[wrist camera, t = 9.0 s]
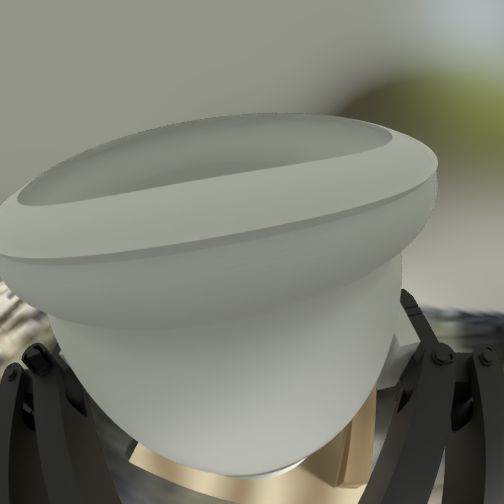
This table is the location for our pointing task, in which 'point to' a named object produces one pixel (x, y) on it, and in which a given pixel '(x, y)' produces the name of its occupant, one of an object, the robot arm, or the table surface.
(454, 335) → the table surface
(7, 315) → the table surface
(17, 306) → the table surface
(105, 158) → the jar
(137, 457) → the tan wooden platform
